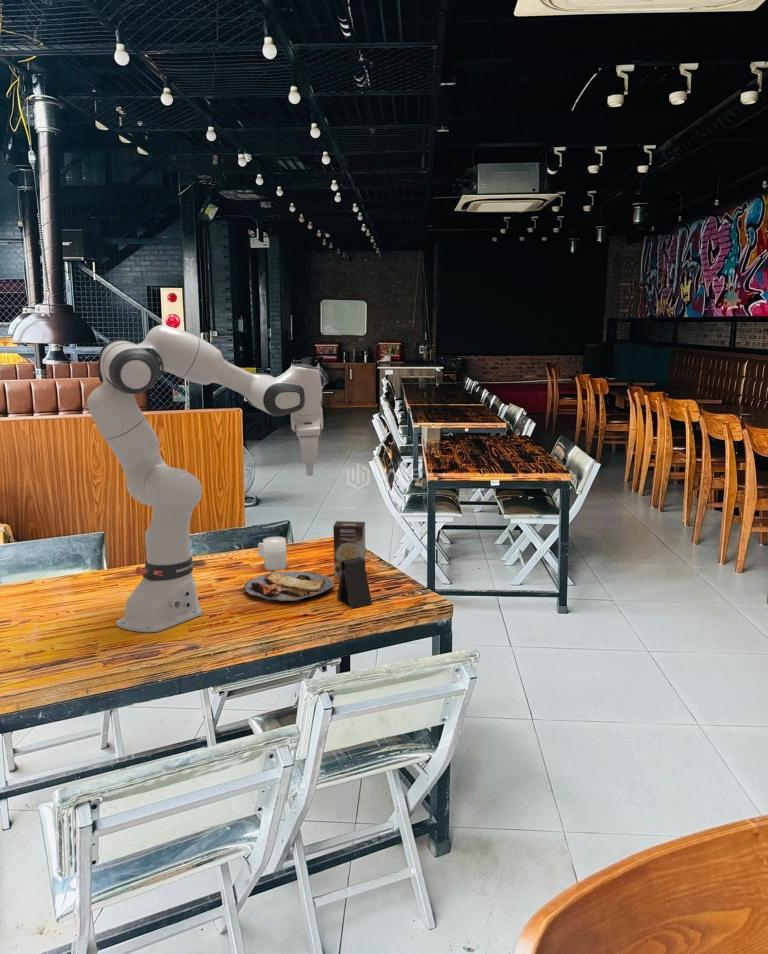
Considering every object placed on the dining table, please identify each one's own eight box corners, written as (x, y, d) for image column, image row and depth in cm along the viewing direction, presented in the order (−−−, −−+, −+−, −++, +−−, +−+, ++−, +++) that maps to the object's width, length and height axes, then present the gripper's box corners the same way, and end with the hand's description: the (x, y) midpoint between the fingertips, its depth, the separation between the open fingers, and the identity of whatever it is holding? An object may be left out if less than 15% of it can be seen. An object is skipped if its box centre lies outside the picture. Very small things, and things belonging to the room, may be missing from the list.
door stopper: (371, 604, 203) (370, 561, 201) (352, 608, 201) (350, 565, 198) (356, 595, 211) (355, 553, 209) (336, 599, 208) (335, 557, 206)
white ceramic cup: (279, 571, 235) (277, 543, 233) (254, 568, 239) (252, 540, 237) (291, 565, 241) (289, 537, 240) (266, 562, 245) (265, 535, 243)
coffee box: (333, 578, 227) (331, 526, 224) (337, 571, 233) (335, 520, 230) (364, 578, 226) (362, 526, 223) (366, 572, 232) (365, 521, 229)
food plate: (227, 596, 212) (227, 584, 212) (276, 574, 233) (276, 563, 232) (302, 611, 201) (302, 598, 200) (347, 586, 221) (347, 575, 221)
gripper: (294, 414, 219) (296, 460, 224) (296, 431, 200) (299, 481, 204) (316, 413, 220) (318, 459, 224) (320, 430, 201) (322, 480, 205)
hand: (309, 470), depth 214 cm, fingers open, 8 cm apart
